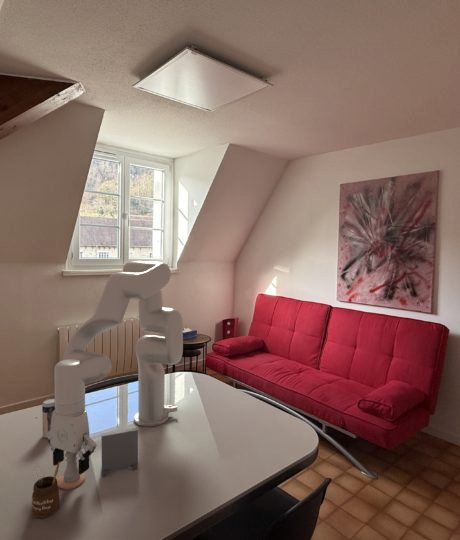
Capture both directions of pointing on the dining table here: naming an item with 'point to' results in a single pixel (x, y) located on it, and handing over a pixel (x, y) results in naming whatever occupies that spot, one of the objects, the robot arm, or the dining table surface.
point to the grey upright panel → (119, 450)
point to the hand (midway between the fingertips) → (71, 466)
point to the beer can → (47, 415)
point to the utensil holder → (45, 495)
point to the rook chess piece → (71, 468)
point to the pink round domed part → (67, 485)
